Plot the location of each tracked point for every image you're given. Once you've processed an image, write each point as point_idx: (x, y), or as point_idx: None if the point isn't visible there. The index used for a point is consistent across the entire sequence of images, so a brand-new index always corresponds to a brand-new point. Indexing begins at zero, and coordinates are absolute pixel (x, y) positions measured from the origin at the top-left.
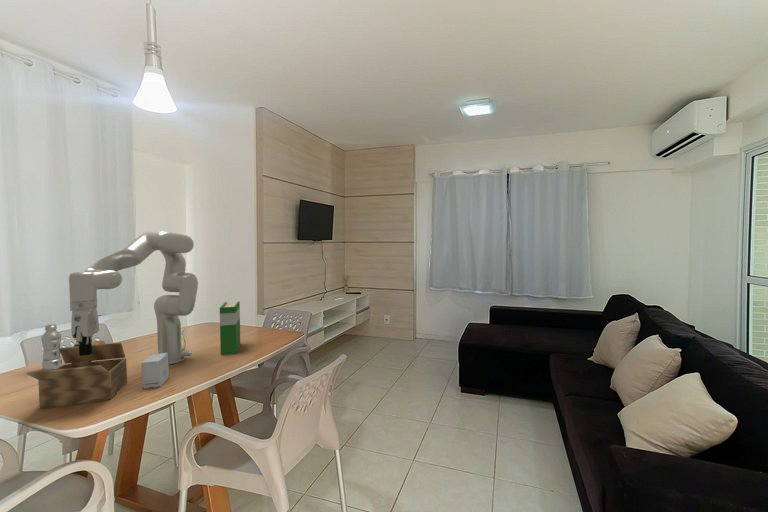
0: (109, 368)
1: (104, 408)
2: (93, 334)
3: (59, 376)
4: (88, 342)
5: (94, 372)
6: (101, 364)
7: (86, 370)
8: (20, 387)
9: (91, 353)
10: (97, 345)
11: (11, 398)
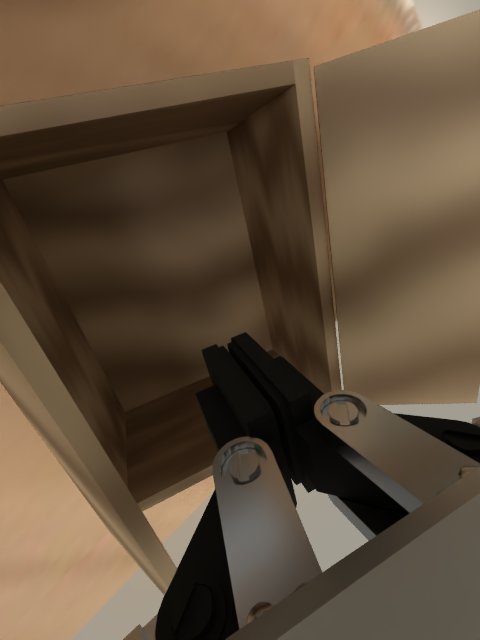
0: (12, 273)
1: (314, 93)
2: (464, 498)
3: (368, 325)
4: (337, 417)
5: (364, 145)
6: (32, 332)
7: (439, 156)
8: (92, 581)
9: (202, 350)
10: (81, 416)
11: (187, 507)
